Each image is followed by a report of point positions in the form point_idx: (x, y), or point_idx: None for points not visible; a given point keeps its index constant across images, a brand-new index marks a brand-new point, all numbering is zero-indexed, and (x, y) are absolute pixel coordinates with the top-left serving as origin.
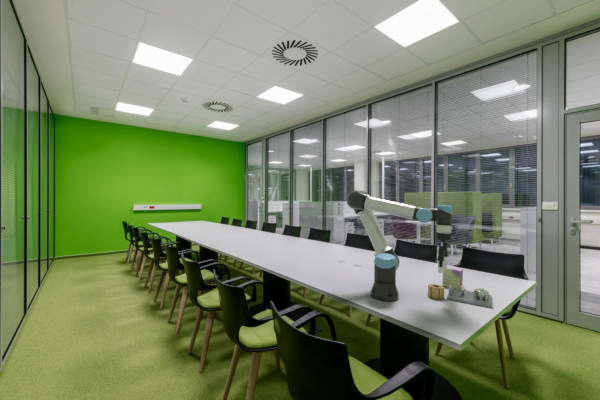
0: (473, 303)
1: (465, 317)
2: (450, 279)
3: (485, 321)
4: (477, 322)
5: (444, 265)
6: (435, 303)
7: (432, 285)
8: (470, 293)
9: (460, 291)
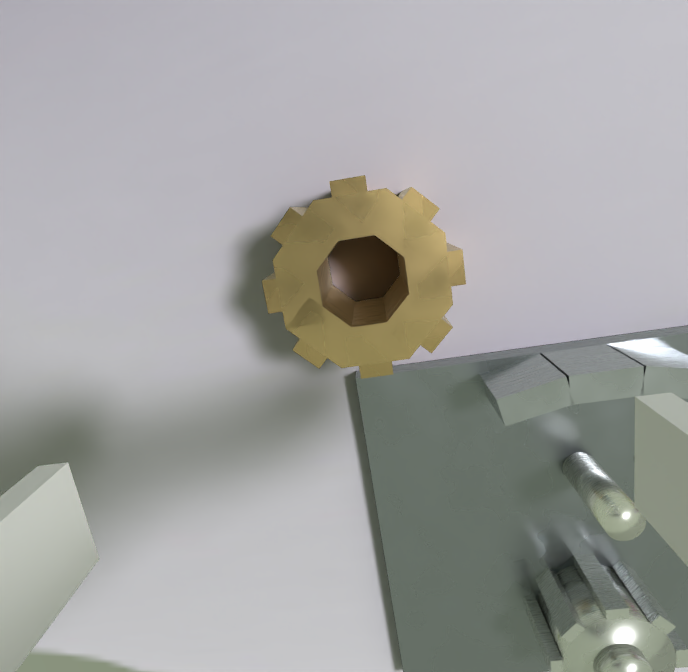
0: (387, 569)
1: None
2: None
3: (90, 657)
4: None
5: (675, 501)
6: (159, 321)
7: (361, 233)
8: None
9: None
